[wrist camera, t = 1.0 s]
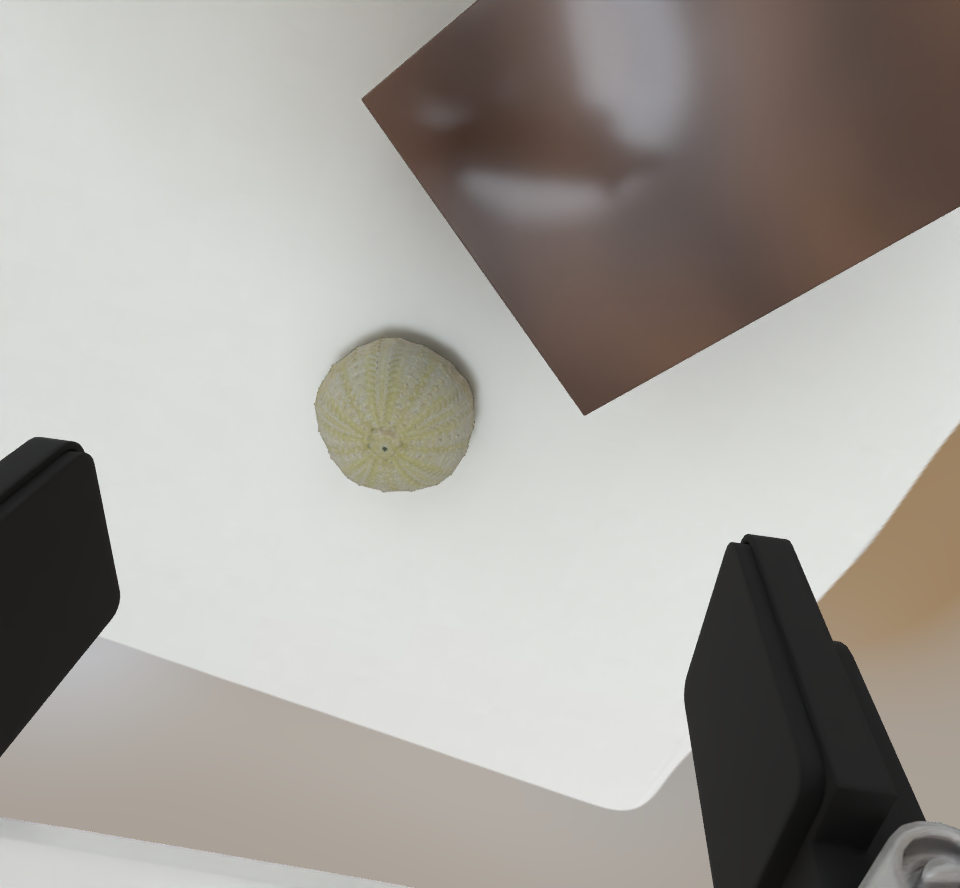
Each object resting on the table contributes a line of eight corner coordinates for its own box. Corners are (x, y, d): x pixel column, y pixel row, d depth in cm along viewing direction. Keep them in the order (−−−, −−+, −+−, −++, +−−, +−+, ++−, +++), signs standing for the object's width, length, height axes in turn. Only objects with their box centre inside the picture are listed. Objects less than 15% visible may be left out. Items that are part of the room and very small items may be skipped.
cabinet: (771, -211, 29) (864, -329, 19) (915, 124, 34) (1045, 159, 24) (417, 81, 35) (360, 99, 26) (582, 327, 40) (584, 416, 31)
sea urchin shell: (514, 387, 40) (447, 515, 38) (474, 415, 48) (415, 523, 46) (369, 297, 39) (289, 425, 36) (350, 340, 46) (283, 449, 44)
